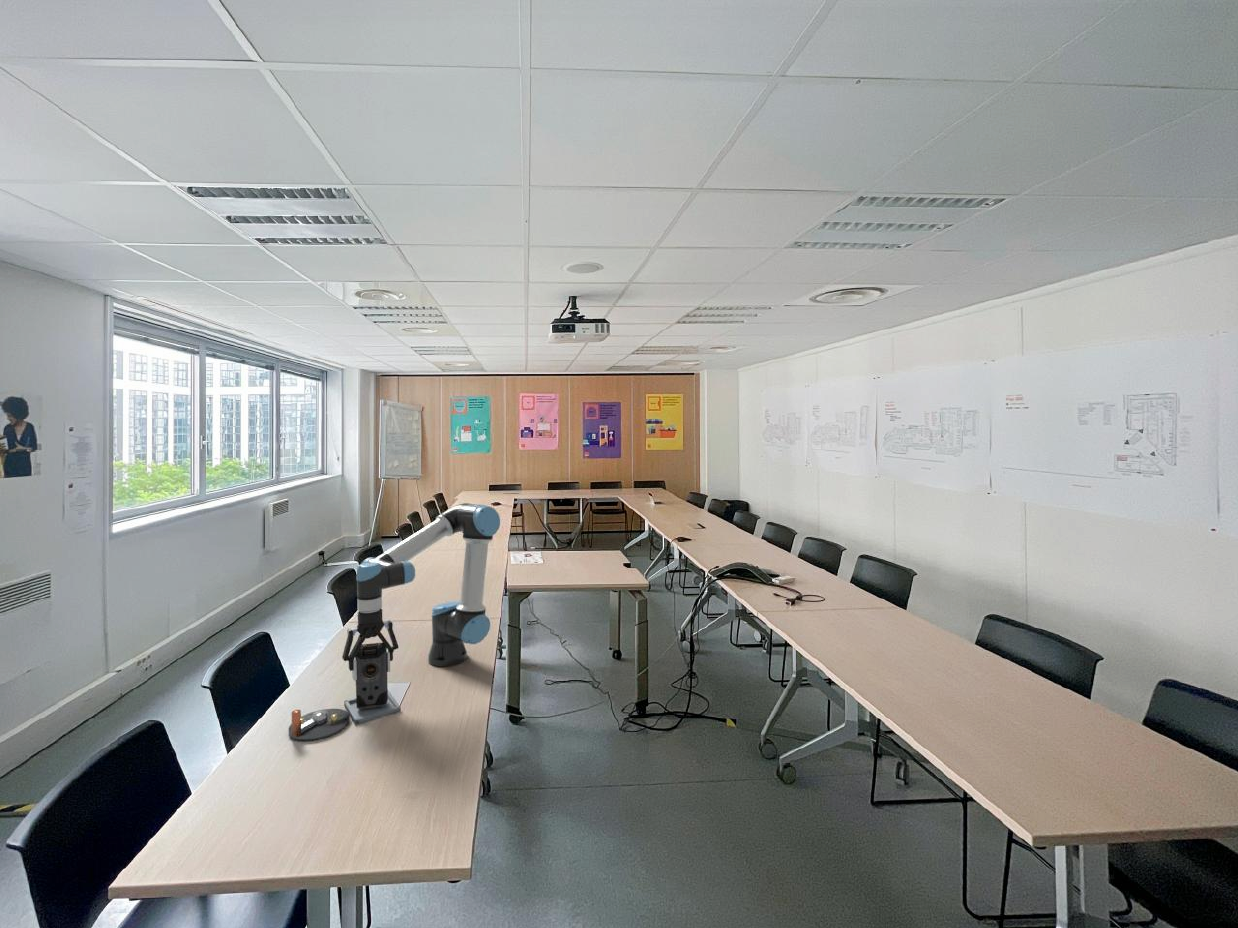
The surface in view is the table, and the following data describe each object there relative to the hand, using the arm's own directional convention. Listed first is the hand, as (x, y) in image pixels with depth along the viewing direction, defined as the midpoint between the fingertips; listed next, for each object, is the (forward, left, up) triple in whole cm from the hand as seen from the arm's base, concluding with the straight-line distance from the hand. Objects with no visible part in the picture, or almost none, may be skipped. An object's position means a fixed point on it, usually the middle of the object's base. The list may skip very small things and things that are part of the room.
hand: (371, 674), depth 183 cm
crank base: (+16, +2, -12) cm, 20 cm away
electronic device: (0, 0, -10) cm, 10 cm away
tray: (0, 0, -12) cm, 12 cm away
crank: (+19, +4, -10) cm, 22 cm away
